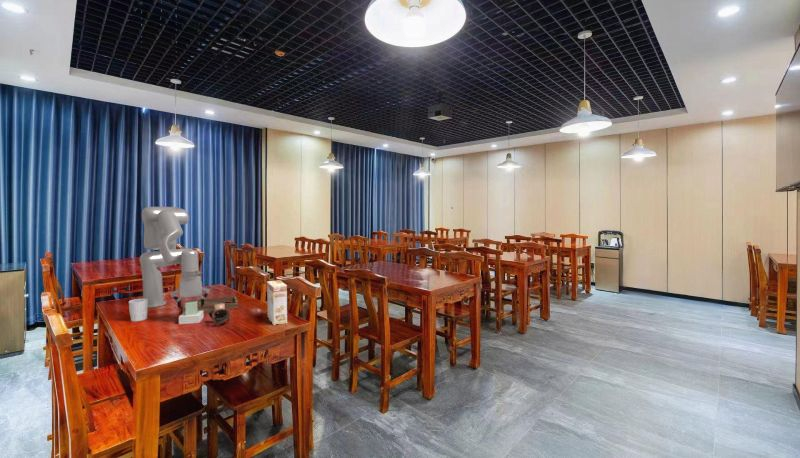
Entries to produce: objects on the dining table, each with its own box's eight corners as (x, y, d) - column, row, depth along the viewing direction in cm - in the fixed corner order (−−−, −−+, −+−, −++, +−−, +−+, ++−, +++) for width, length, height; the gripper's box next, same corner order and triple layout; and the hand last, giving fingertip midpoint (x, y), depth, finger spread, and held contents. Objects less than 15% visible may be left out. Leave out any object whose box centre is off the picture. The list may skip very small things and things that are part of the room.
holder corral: (184, 307, 207) (184, 301, 207) (236, 301, 220) (235, 295, 220) (182, 315, 192) (182, 308, 192) (237, 308, 205) (237, 302, 205)
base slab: (184, 319, 186) (184, 311, 186) (203, 317, 189) (203, 310, 189) (178, 324, 178) (178, 316, 177) (199, 323, 180) (199, 315, 180)
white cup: (138, 322, 180) (137, 302, 179) (125, 321, 181) (124, 301, 181) (152, 317, 187) (151, 298, 187) (139, 316, 189) (138, 297, 188)
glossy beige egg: (214, 312, 197) (214, 304, 196) (224, 311, 199) (224, 302, 199) (214, 315, 192) (214, 306, 192) (224, 314, 194) (224, 305, 194)
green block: (186, 312, 184) (186, 301, 184) (197, 311, 186) (197, 300, 186) (185, 315, 180) (185, 303, 179) (197, 314, 182) (196, 302, 181)
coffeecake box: (287, 323, 180) (287, 285, 179) (273, 325, 177) (272, 286, 175) (281, 315, 193) (280, 279, 192) (267, 317, 189) (266, 281, 188)
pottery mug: (235, 321, 185) (234, 310, 180) (223, 334, 177) (221, 323, 172) (215, 314, 186) (213, 302, 182) (202, 327, 178) (200, 315, 174)
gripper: (209, 271, 189) (210, 303, 190) (170, 274, 181) (171, 307, 182) (209, 274, 182) (210, 307, 184) (169, 277, 174) (170, 311, 175)
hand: (191, 307), depth 183 cm, fingers open, 9 cm apart
